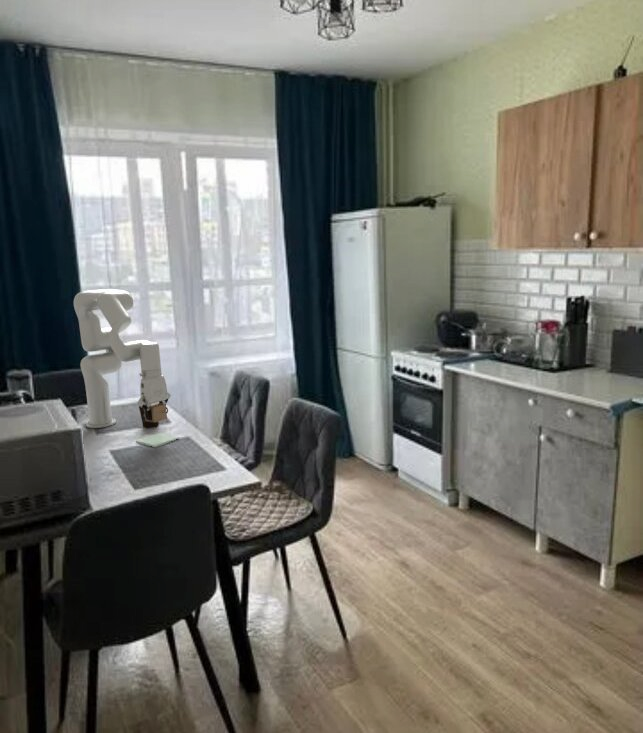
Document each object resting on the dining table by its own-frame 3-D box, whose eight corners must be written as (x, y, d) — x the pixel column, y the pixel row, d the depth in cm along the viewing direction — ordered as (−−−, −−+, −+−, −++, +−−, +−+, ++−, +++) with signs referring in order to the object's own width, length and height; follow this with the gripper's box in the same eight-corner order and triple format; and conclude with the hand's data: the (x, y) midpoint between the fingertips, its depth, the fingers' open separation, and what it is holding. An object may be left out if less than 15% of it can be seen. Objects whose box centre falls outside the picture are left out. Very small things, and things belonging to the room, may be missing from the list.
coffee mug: (136, 428, 257) (134, 406, 255) (149, 422, 265) (147, 401, 263) (158, 430, 253) (156, 407, 251) (170, 424, 261) (168, 402, 259)
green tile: (136, 442, 238) (135, 440, 238) (160, 434, 247) (160, 432, 247) (155, 447, 231) (155, 445, 230) (179, 439, 240) (179, 437, 240)
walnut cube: (145, 420, 236) (143, 405, 235) (157, 416, 241) (156, 402, 240) (154, 422, 233) (153, 407, 232) (167, 418, 238) (165, 404, 236)
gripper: (139, 378, 224) (144, 424, 228) (175, 370, 238) (179, 413, 241) (127, 376, 229) (132, 421, 232) (163, 368, 242) (167, 411, 246)
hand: (155, 417), depth 237 cm, fingers closed on walnut cube, 6 cm apart
